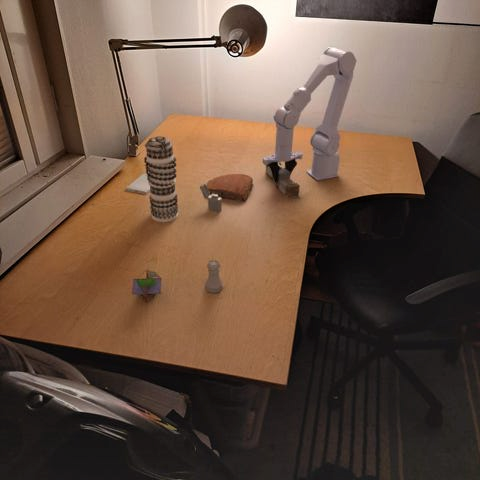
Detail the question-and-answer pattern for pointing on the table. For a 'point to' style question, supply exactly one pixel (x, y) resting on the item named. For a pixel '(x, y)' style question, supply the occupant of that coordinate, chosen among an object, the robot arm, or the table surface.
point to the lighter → (211, 199)
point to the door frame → (289, 187)
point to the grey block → (282, 175)
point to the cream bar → (270, 169)
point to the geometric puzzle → (147, 284)
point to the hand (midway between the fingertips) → (281, 180)
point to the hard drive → (140, 185)
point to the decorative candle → (161, 179)
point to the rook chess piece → (213, 277)
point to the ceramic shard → (231, 186)
